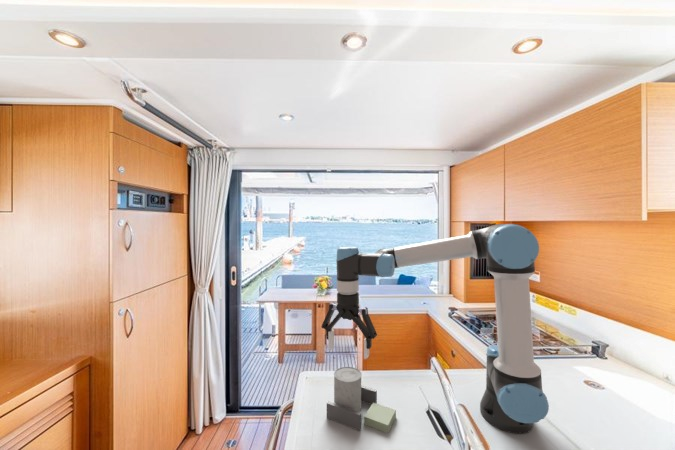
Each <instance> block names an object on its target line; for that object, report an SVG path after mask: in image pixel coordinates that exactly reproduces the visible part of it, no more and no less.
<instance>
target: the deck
mask: <svg viewBox="0 0 675 450" xmlns="http://www.w3.org/2000/svg"><path fill="white" fill-rule="evenodd" d="M396 417H397V409H394V408H392V407H391V408H390V407H388V406H385V405H382V404H379V403H378V402H377V403H374V402H373V404H370V407H369V408H368V410H367V411H366V412H365V415H364V417H363V424H364V425H365V426H368V427H370V428H373V429H376V430H379V431H381V432H383V433H386V434H389V432H390V430H391V428H392V426H393V424H394V421H395V420H396V419H397V418H396Z"/></svg>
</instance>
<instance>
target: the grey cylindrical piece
mask: <svg viewBox="0 0 675 450" xmlns="http://www.w3.org/2000/svg"><path fill="white" fill-rule="evenodd" d="M333 372H334V373H333V375H334V379H333V381H334V383H333V389H334V390H333V391H334V392H333V393H334V394H333V395H334V396H333V401H334V402H333V403H335V404H338V405H341V406H344V407H346V408H349V409H352V410H355V411H357V412H360V413H361V414H362V401H361V385H362V375H363V374H362V372H361V371H360V370H359V369H358V368H356V367H352V366H342V367H340V368H337V369H336V370H335V371H333Z"/></svg>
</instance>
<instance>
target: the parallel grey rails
mask: <svg viewBox="0 0 675 450" xmlns="http://www.w3.org/2000/svg"><path fill="white" fill-rule="evenodd" d="M361 402H363V403H366V404H370V405H372V404H373V402H374V403H377V404H378V391H377V389H375V388H372V387H369V386H368V387H367V386H365V385H362V384H361ZM326 419H329V420H331V421H333V422H336V423H339V424H340V425H343V426H345V427H349V428H351V429H353V430H356V431H359V432H360V431H361V430H362V412H361V413H360V412H357V411H355V410H352V409H349V408H346V407H344V406H341V405H338V404H335V403H334V402H332V401H329V400H328V401H327V402H326Z"/></svg>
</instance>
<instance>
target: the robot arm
mask: <svg viewBox="0 0 675 450" xmlns="http://www.w3.org/2000/svg"><path fill="white" fill-rule="evenodd" d="M539 254H540V245H539V241H538V238H537V237H536V236H535V234H534V233H533V232H532V231H531V230H529V229H527V228H526V227H524V226H522V225H519V224H515V223H498V224H497V223H495V224H493V225H490V226H486V227H484V228H479V229H475V230H470V231H469V232H468V233H467V234H465V235H464V234H463V235H459V236H458V235H457V236H453V237H447V238H441V239H436V240H431V241H430V240H429V241H424V242H418V243H414V244H413V243H412V244H407V245H402V246H395V247H389V248H380V249H378V250H377V251H375V252H373V253H365V252H364V253H363V252H360V251H359V247H357V246H340V247H338V249H337V250H336V291H337V293H336V302H334V301H333V302H332V303H330V304H328V310H327V313H326V315H325V317H324V319H323V321H322V323H321V329H324V330H325V333H326V340H328V341H327V342H328V343H327V345H328V347H327V348H328V351H332V350H333V349H334V348H335V329H333V328H334V326H335V325H336V324H337V323H338V322H339V320H340V319H342V320H347V321H353V323H355V325H356V326H357V328H359V330H360V332H361V334H362V335H363V337H364V338H363V360H367V359H368V358H369V356H370V349H371V348H372V339H376V337H378V332H377V331H376V328H375V325H374V324H373V322H372V319H371V317H370V315H369V309H368V307H367V306H366V307H360V306H359V304H360V303H359V302H360V299H359V298H360V294H359V290H360V289H359V286H360V284H359V282H360V281H359V279H360V278H359V276H362V277H363V276H365V277H367V276H368V277H377V278H392V277H393V276H394V274H395V269H398V268H404V267H410V266H411V267H413V266H416V265H424V264H432V263H438V262H445V261H451V260H459V259H466V258H467V259H468V258H474V259H475V260H480V259H486V264H487V272H488V273H489V274H491V276H493V283H494V284H493V285H494V287H493V288H494V301H495V302H494V303H495V317H496V334H497V344H492V345H488V347H487V348H486V354H485V356H486V377H485V378H486V381H485V383H486V384H485V388H486V389H485V390H484V393H483V395H482V398H481V400H480V402H479V403H480V405H479V407H480V408H479V411H480V415H481V416H482V417H483V419H484V420H486V421H487V422H488V423H489V424H490V425H492V426H493V427H496V428H498V429H500V430H502V431H505V432H507V433H512V434H526V433H529V432H531V431H532V430H533V427H534V424H536V423H538V422H540V421H541V420H544V419H545V418H546V416H547V415H548V412H549V410H550V408H549V407H550V406H549V401H548V398H547V396H546V394H545V393H544V391H543V382H542V370H541V367H540V366H539V365H538V364H536V363H535V360H534V359H535V358H534V342H533V341H534V340H533V329H532V328H533V325H532V323H533V322H532V310H531V292H530V291H531V289H530V277H531V276H533V275H534V274H535V273H536V266H535V264H536V263H535V261H536V260H537V258H538V256H539ZM336 303H337V304H336ZM335 310H337V312H338V313H337V314H336V315H335V317H334V318H333V319H332V317H333V315H334V312H335ZM359 313H360V314H359ZM361 316H362V318H361ZM331 319H332V320H331ZM330 321H331V322H330Z"/></svg>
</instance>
